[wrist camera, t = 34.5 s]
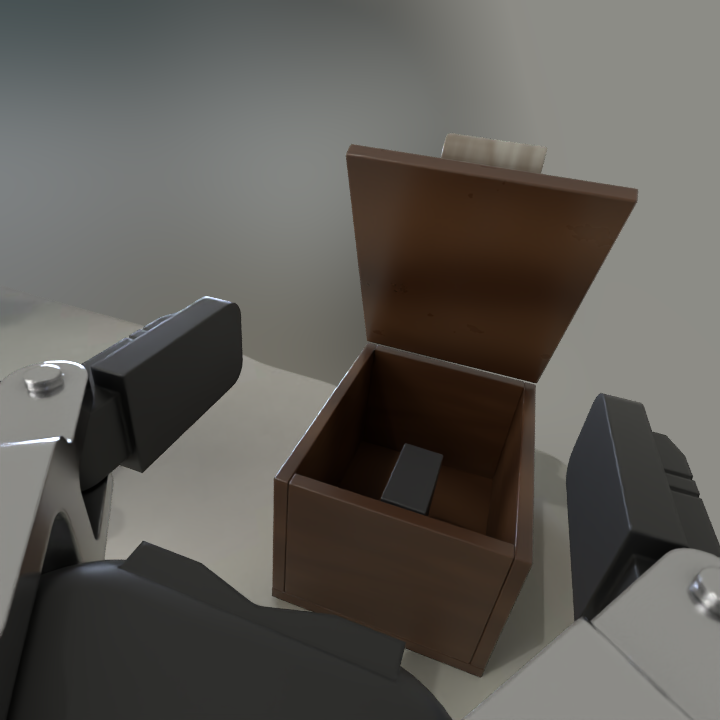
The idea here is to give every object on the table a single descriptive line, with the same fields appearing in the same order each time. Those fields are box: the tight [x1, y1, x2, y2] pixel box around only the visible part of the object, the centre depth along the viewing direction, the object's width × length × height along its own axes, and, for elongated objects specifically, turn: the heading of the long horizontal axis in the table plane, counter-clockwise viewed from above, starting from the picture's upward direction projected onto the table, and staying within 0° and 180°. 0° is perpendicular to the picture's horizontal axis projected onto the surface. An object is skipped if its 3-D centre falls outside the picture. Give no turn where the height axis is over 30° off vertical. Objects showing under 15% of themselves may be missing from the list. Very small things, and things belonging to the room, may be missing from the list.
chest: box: [272, 343, 536, 677], centre depth 31 cm, size 16×13×10 cm
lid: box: [346, 133, 638, 383], centre depth 29 cm, size 16×13×5 cm
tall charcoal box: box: [381, 443, 443, 516], centre depth 29 cm, size 2×5×8 cm, turn 160°
